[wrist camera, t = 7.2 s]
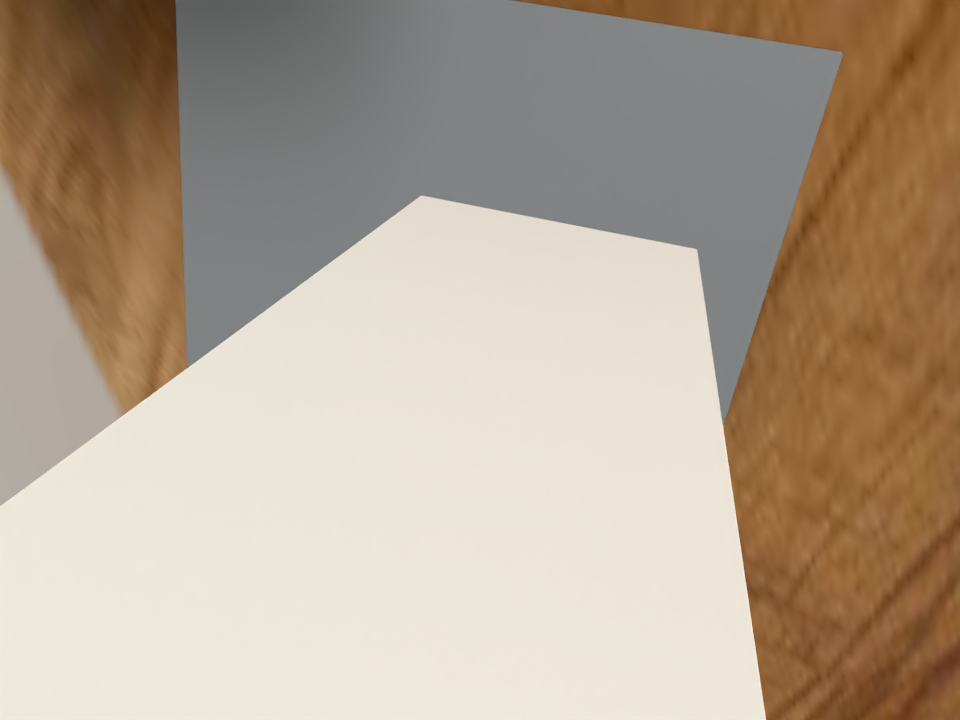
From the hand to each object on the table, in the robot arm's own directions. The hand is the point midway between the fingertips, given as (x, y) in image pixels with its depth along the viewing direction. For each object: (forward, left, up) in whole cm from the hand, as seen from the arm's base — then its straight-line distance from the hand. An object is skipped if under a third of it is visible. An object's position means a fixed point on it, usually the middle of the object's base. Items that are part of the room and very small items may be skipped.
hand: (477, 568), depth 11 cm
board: (+4, 0, -14) cm, 15 cm away
